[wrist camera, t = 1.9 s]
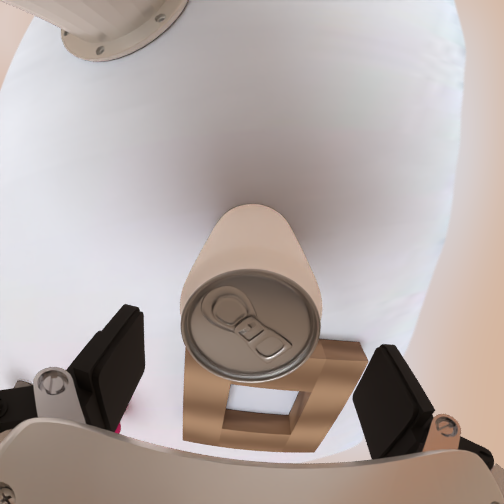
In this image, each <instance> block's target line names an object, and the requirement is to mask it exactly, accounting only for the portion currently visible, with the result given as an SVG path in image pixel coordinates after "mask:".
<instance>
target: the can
mask: <svg viewBox="0 0 504 504" xmlns="http://www.w3.org/2000/svg"><path fill="white" fill-rule="evenodd" d="M180 314H181V334H182V338H183V341H184V344H185V346H186V348H187V350H188V352H189V353H190V355H191V356H192V357H193V358H194V360H195V361H196V362H197V363H198V364H199V365H201V366H202V367H203V368H204V369H206V370H207V371H209V372H210V373H212V374H214V375H216V376H218V377H221V378H223V379H226V380H230V381H234V382H239V383H263V382H269V381H273V380H276V379H279V378H282V377H284V376H286V375H288V374H290V373H292V372H293V371H295V370H296V369H298V368H299V367H300V366H302V365H303V364H304V363H305V362H306V361H307V360H308V358H309V357H310V356H311V354H312V353H313V351H314V350H315V348H316V346H317V343H318V340H319V336H320V329H321V323H320V320H321V316H322V298H321V293H320V289H319V286H318V284H317V281H316V279H315V276H314V274H313V272H312V270H311V267H310V265H309V263H308V261H307V259H306V257H305V255H304V253H303V251H302V249H301V247H300V244H299V242H298V240H297V238H296V236H295V235H294V233H293V231H292V229H291V227H290V225H289V224H288V222H287V221H286V220H285V218H284V217H283V216H282V215H281V214H279V213H278V212H277V211H275V210H273V209H272V208H269V207H267V206H264V205H259V204H246V205H241V206H238V207H235V208H233V209H231V210H229V211H228V212H227V213H225V214H224V215H223V216H222V217H221V219H220V220H219V221H218V223H217V224H216V226H215V227H214V229H213V231H212V232H211V234H210V236H209V238H208V239H207V241H206V243H205V245H204V246H203V248H202V250H201V252H200V254H199V256H198V257H197V259H196V261H195V263H194V265H193V267H192V269H191V271H190V273H189V275H188V277H187V279H186V281H185V284H184V286H183V290H182V294H181V299H180Z"/></svg>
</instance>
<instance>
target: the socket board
mask: <svg viewBox="0 0 504 504" xmlns="http://www.w3.org/2000/svg"><path fill="white" fill-rule="evenodd" d="M367 363H368V359H367V357H366V355H365V353H364V351H363V349H362V347H361V345H360V343H359V342H348V341H336V340H325V339H319V340H318V343H317V346H316V348H315V350H314V351H313V353H312V354H311V356H310V357H309V358H308V360H307V361H306V362H305V363H304V364H303V365H302V366H300V367H299V368H298V369H296V370H295V371H293V372H292V373H290V374H288V375H286V376H284V377H282V378H279V379H276V380H273V381H269V382H263V383H239V382H234V381H230V380H226V379H223V378H221V377H218V376H216V375H214V374H212V373H210V372H209V371H207V370H206V369H204V368H203V367H202V366H201V365H199V364H198V363H197V362H196V361H195V360H194V358H193V357H192V356H191V355H190V353H189V352H188V350H187V348H186V351H185V370H184V396H183V440H184V441H189V442H194V443H200V444H206V445H212V446H219V447H226V448H234V449H243V450H254V451H269V452H315V451H316V449H317V448H318V446H319V445H320V443H321V442H322V440H323V439H324V437H325V436H326V434H327V433H328V431H329V430H330V428H331V427H332V425H333V423H334V422H335V420H336V419H337V417H338V415H339V414H340V412H341V411H342V409H343V407H344V405H345V404H346V402H347V400H348V399H349V397H350V395H351V393H352V392H353V390H354V388H355V386H356V384H357V383H358V381H359V379H360V377H361V375H362V373H363V371H364V369H365V367H366V365H367ZM230 384H235V385H242V386H250V387H258V388H267V389H278V390H290V391H299V393H298V395H297V398H296V400H295V402H294V405H293V407H292V409H291V411H290V414H289V415H275V414H263V413H253V412H244V411H236V410H229V409H226V405H227V400H228V394H229V389H230Z"/></svg>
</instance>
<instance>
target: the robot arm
mask: <svg viewBox="0 0 504 504" xmlns="http://www.w3.org/2000/svg"><path fill="white" fill-rule="evenodd" d="M0 1H2V2H4V3H7V4H9V5H12V6H14V7H16V8H19V9H21V10H23V11H26V12H28V13H30V14H32V15H35V16H37V17H39V18H41V19H43V20H45V21H47V22H49V23H51V24H53V25H55V26H57V27H59V28H61V37H62V41H63V44H64V46H65V48H66V49H67V50H68V51H69V52H70V53H71V54H73V55H74V56H76V57H78V58H81V59H83V60H87V61H93V62H98V61H108V60H112V59H117V58H120V57H122V56H125V55H127V54H130V53H132V52H134V51H136V50H138V49H140V48H142V47H144V46H145V45H147V44H148V43H149V42H151V41H152V40H154V39H155V38H157V37H158V36H159V35H160V34H161V33H163V32H164V31H165V30H166V29H167V28H168V27H169V26H170V25H171V24H172V23H173V22H174V21H175V20H176V19H177V18H178V16H179V15H180V13H181V12H182V10H183V9H184V8H185V6H186V3H187V1H188V0H0ZM144 369H145V351H144V315H143V312H140V310H139V308H138V307H135V306H131V305H127V304H124V305H123V306H122V307H121V309H120V310H119V311H118V312H117V313H116V314H115V316H114V317H113V318H112V319H111V320H110V322H109V323H108V324H107V325H106V326H105V328H104V329H103V330H102V331H98V332H97V333H96V334H95V335H94V336H93V338H92V339H91V340H90V341H89V343H88V344H87V345H86V346H85V347H84V349H83V350H82V351H81V352H80V354H79V355H78V356H77V357H76V358H75V360H74V361H73V362H72V363H71V365H70V366H69V367H68V369H67V370H64V369H62V368H58V367H49V368H45V369H43V370H41V371H39V372H38V373H37V374H36V376H35V378H34V381H33V385H31V386H25V387H19V388H13V389H6V390H0V504H504V469H503V468H501V467H500V466H499V465H498V464H495V465H494V459H493V456H492V454H491V452H490V451H489V450H487V449H486V448H484V447H482V446H480V445H477V444H475V443H473V442H471V441H469V440H467V439H465V438H463V437H461V436H460V434H461V428H460V425H459V423H458V422H457V421H456V420H455V419H454V418H453V417H451V416H449V415H446V414H439V415H436V416H435V417H433V415H432V414H433V412H434V411H435V409H434V407H433V406H432V404H431V402H430V400H429V399H428V397H427V396H426V394H425V392H424V391H423V389H422V387H421V385H420V384H419V382H418V380H417V379H416V378H415V376H414V374H413V372H412V371H411V369H410V368H409V366H408V364H407V363H406V361H405V360H404V358H403V357H402V355H401V354H400V352H399V350H398V349H397V347H396V346H395V345H388V344H382V345H381V346H380V347H378V348H376V350H375V352H374V354H373V356H372V358H371V360H370V362H369V364H368V366H367V368H366V370H365V372H364V374H363V376H362V378H361V380H360V382H359V384H358V386H357V388H356V390H355V391H354V394H353V403H354V405H355V408H356V411H357V414H358V417H359V420H360V423H361V427H362V430H363V433H364V436H365V439H366V442H367V445H368V448H369V452H370V455H371V458H372V460H364V461H355V462H342V463H318V464H293V463H269V462H255V461H245V460H236V459H228V458H220V457H214V456H208V455H202V454H196V453H191V452H186V451H181V450H177V449H172V448H168V447H164V446H160V445H156V444H152V443H148V442H145V441H141V440H137V439H134V438H131V437H127V436H124V435H121V434H118V433H114V432H115V431H116V429H117V427H118V425H119V423H120V420H121V418H122V416H123V414H124V412H125V410H126V408H127V406H128V403H129V401H130V399H131V397H132V395H133V393H134V391H135V389H136V387H137V385H138V383H139V381H140V379H141V377H142V375H143V372H144ZM493 465H494V466H493Z"/></svg>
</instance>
